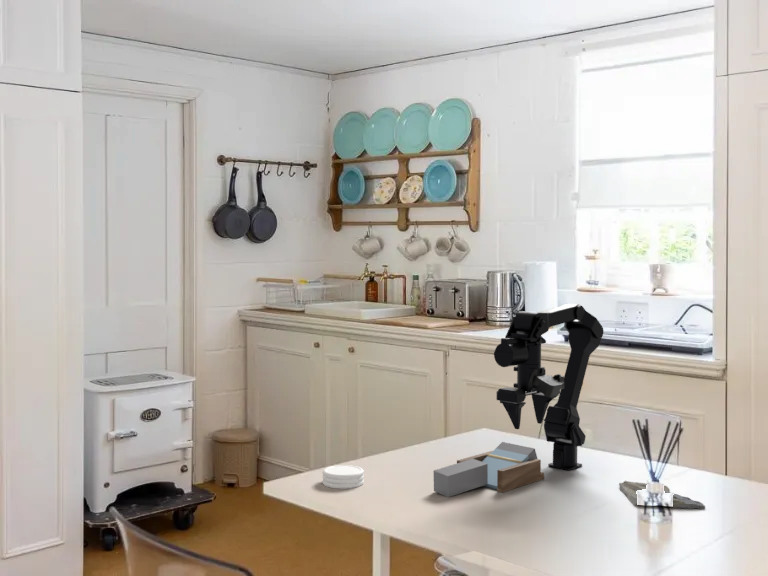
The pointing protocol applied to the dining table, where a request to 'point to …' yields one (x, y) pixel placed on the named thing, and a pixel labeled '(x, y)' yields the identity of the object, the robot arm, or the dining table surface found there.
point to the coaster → (343, 476)
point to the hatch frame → (514, 473)
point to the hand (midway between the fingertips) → (528, 426)
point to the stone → (460, 477)
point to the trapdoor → (506, 459)
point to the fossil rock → (678, 500)
